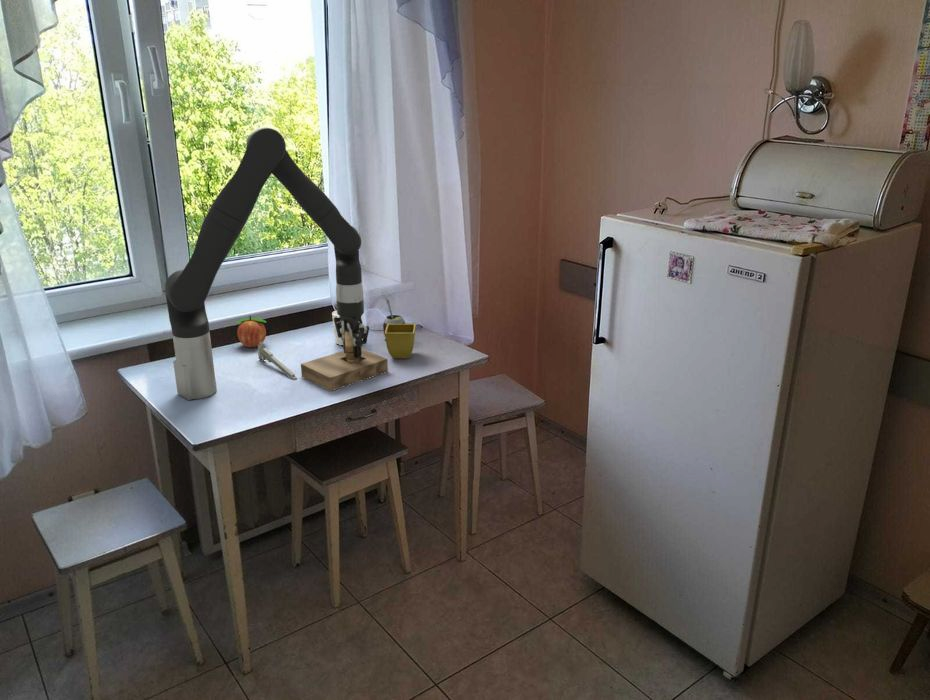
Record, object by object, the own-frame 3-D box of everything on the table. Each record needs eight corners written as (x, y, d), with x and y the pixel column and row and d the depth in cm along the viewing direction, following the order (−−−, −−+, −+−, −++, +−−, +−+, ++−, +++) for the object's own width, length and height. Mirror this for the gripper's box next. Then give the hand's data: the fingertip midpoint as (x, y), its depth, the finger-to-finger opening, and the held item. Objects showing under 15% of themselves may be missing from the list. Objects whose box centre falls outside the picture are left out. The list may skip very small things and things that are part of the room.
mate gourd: (404, 344, 239) (403, 299, 234) (379, 344, 239) (377, 299, 234) (407, 336, 246) (406, 292, 240) (383, 336, 246) (381, 292, 241)
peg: (351, 367, 215) (350, 334, 211) (343, 363, 217) (341, 330, 214) (363, 363, 217) (361, 331, 214) (354, 360, 220) (353, 327, 216)
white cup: (334, 338, 244) (332, 309, 240) (359, 338, 245) (357, 308, 241) (333, 347, 236) (331, 317, 233) (358, 346, 237) (357, 316, 234)
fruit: (263, 350, 233) (261, 320, 229) (233, 350, 233) (229, 319, 230) (271, 341, 241) (268, 311, 238) (241, 340, 241) (238, 311, 238)
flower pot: (388, 350, 234) (387, 323, 231) (416, 350, 234) (415, 323, 231) (385, 361, 226) (384, 333, 223) (414, 361, 226) (414, 333, 223)
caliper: (258, 360, 226) (256, 341, 224) (261, 360, 227) (260, 340, 224) (294, 381, 212) (292, 360, 210) (297, 380, 213) (295, 359, 211)
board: (330, 391, 205) (329, 377, 203) (301, 376, 214) (300, 363, 213) (387, 371, 218) (387, 358, 217) (358, 358, 227) (357, 346, 226)
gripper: (323, 295, 212) (327, 351, 218) (354, 306, 203) (357, 365, 209) (345, 289, 217) (348, 345, 223) (376, 300, 208) (378, 358, 214)
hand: (352, 354), depth 216 cm, fingers closed on peg, 4 cm apart
